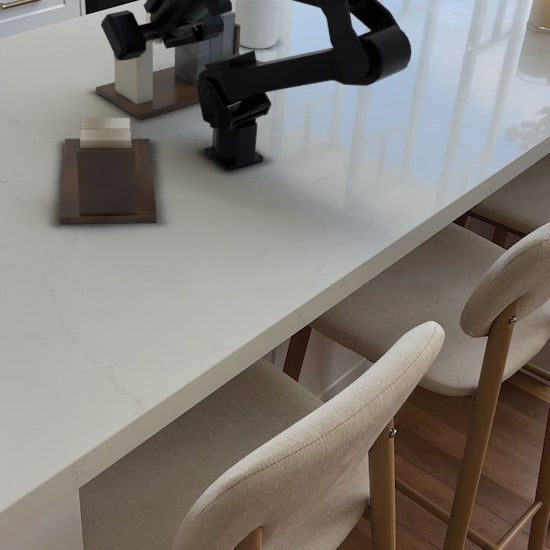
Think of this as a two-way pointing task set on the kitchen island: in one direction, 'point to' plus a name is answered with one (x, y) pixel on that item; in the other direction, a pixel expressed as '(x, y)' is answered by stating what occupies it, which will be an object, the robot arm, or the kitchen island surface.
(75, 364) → the kitchen island surface
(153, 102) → the bookend
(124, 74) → the white book
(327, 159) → the kitchen island surface
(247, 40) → the mug
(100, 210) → the brown wooden stand
